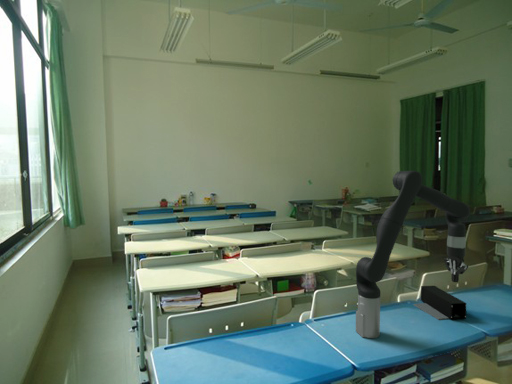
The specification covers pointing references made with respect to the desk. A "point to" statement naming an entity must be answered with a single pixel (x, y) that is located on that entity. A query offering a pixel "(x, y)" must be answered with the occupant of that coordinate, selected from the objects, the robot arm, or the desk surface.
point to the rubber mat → (432, 311)
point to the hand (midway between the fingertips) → (454, 281)
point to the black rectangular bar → (443, 302)
